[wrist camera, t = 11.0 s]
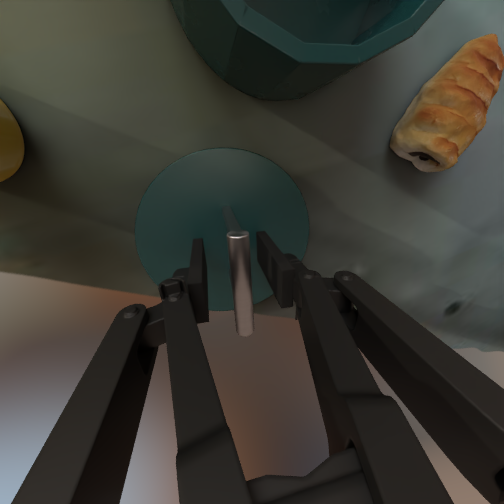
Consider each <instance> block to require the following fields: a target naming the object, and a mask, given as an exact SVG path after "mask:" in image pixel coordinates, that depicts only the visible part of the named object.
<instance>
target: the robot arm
mask: <svg viewBox="0 0 504 504" xmlns="http://www.w3.org/2000/svg"><path fill="white" fill-rule="evenodd" d="M256 241H257V261H258V263H259V265H260V267H261V269H262V271H263V273H264V275H265V277H266V279H267V281H268V283H269V285H270V287H271V289H272V291H273V293H274V295H275V297H276V299H277V301H278V303H279V305H280V307H281V308H287V307H293V299H294V301H295V302H296V318H295V320H297V317H298V320H299V324H300V328H301V332H302V336H303V340H304V344H305V348H306V352H307V356H308V360H309V364H310V368H311V372H312V376H313V380H314V384H315V388H316V392H317V396H318V400H319V404H320V409H321V412H322V417H323V421H324V425H325V429H326V432H327V437H328V443H329V456H330V457H329V458H327V459H326V460H325V461H324V462H322V463H321V464H320V465H319V466H318V467H316V468H315V469H314V470H313V471H312V472H310V473H309V474H308V475H306V476H304V477H297V476H279V475H265V476H262V477H259V478H255V479H252V480H249V481H246V480H245V477H244V474H243V470H242V467H241V464H240V461H239V457H238V454H237V451H236V448H235V444H234V441H233V438H232V435H231V432H230V429H229V427H228V425H227V423H226V419H225V416H224V413H223V409H222V407H221V403H220V400H219V397H218V393H217V390H216V386H215V383H214V379H213V376H212V373H211V370H210V366H209V363H208V360H207V356H206V353H205V350H204V346H203V343H202V340H201V336H200V333H199V330H198V327H197V324H198V323H204V322H209V309H208V277H207V263H206V256H205V250H204V244H203V238H197V239H193V242H192V250H191V258H190V266H189V267H188V268H180V269H177V270H176V271H175V272H174V273H173V276H172V278H169V279H166V280H164V281H162V282H161V283H160V284H159V286H158V289H159V292H160V296H161V299H162V302H161V303H160V304H158V305H156V306H153V307H150V308H147V309H146V307H145V305H143V304H133V305H130V306H127V307H125V308H124V309H122V310H121V311H120V312H119V313H118V314H117V315H116V317H115V319H114V321H113V323H112V324H111V326H110V328H109V330H108V331H107V333H106V335H105V337H104V339H103V340H102V342H101V344H100V346H99V348H98V349H97V351H96V353H95V355H94V356H93V358H92V360H91V362H90V364H89V365H88V367H87V369H86V371H85V373H84V374H83V376H82V378H81V380H80V381H79V383H78V385H77V387H76V389H75V391H74V392H73V394H72V396H71V398H70V399H69V401H68V403H67V405H66V406H65V408H64V410H63V412H62V414H61V415H60V417H59V419H58V421H57V423H56V424H55V426H54V428H53V430H52V431H51V433H50V435H49V437H48V439H47V440H46V442H45V444H44V446H43V448H42V450H41V451H40V453H39V455H38V457H37V458H36V460H35V462H34V464H33V465H32V467H31V469H30V471H29V473H28V474H27V476H26V478H25V480H24V481H23V484H22V485H21V487H20V489H19V491H18V492H17V494H16V496H15V498H14V499H13V501H12V503H11V504H119V503H120V499H121V495H122V491H123V487H124V483H125V479H126V475H127V471H128V467H129V463H130V459H131V455H132V451H133V447H134V443H135V439H136V435H137V431H138V427H139V423H140V419H141V415H142V411H143V407H144V403H145V399H146V395H147V391H148V387H149V383H150V379H151V375H152V371H153V368H154V364H155V359H156V356H157V351H158V346H159V345H161V344H164V343H166V344H167V353H168V362H169V372H170V381H171V390H172V400H173V409H174V418H175V426H176V437H177V447H178V453H177V456H176V469H177V481H178V491H179V502H180V504H454V503H453V501H452V499H451V497H450V496H449V494H448V492H447V490H446V489H445V487H444V485H443V483H442V482H441V480H440V478H439V476H438V474H437V473H436V471H435V469H434V467H433V465H432V464H431V462H430V460H429V458H428V456H427V455H426V453H425V451H424V450H423V448H422V446H421V444H420V442H419V440H418V439H417V437H416V435H415V433H414V432H413V430H412V428H411V426H410V425H409V423H408V421H407V419H406V417H405V416H404V414H403V412H402V410H401V408H400V407H399V405H398V404H397V402H396V401H395V400H394V399H393V398H392V397H390V396H386V395H384V394H382V392H381V391H380V389H379V388H378V386H377V384H376V382H375V380H374V378H373V376H372V374H371V372H370V370H369V368H368V366H367V364H366V363H365V360H364V358H363V357H362V355H361V353H360V351H361V352H362V353H363V354H364V355H365V357H366V358H367V359H368V360H369V361H370V363H371V364H372V365H373V366H374V368H375V369H376V370H377V371H378V373H379V374H380V375H381V376H382V377H383V379H384V380H385V381H386V382H387V384H388V385H389V386H390V387H391V389H392V390H393V391H394V392H395V393H396V395H397V396H398V397H399V398H400V400H401V401H402V402H403V403H404V405H405V406H406V407H407V408H408V409H409V411H410V412H411V413H412V414H413V416H414V417H415V418H416V419H417V420H418V422H419V423H420V424H421V425H422V427H423V428H424V429H425V430H426V432H427V433H428V434H429V435H430V436H431V438H432V439H433V440H434V441H435V442H436V444H437V445H438V446H439V447H440V449H441V450H442V451H443V452H444V454H445V455H446V456H447V457H448V458H449V459H450V461H451V462H452V463H453V464H454V465H455V466H456V468H457V469H458V470H459V471H460V472H461V473H462V474H463V476H464V477H465V478H466V479H467V480H468V481H469V482H470V483H471V484H472V485H473V486H474V487H475V488H476V489H477V490H478V491H479V492H480V494H482V495H483V497H484V498H485V499H486V500H487V501H488V502H489V503H491V504H504V389H503V388H501V387H500V386H499V385H498V384H496V383H495V382H494V381H493V380H491V379H490V378H489V377H487V376H486V375H485V374H484V373H482V372H481V371H480V370H478V369H477V368H476V367H474V366H473V365H472V364H470V363H469V362H468V361H467V360H465V359H464V358H463V357H462V356H460V355H459V354H458V353H456V352H455V351H454V350H453V349H451V348H450V347H449V346H447V345H446V344H445V343H444V342H442V341H441V340H440V339H438V338H437V337H436V336H435V335H433V334H432V333H431V332H429V331H428V330H427V329H426V328H424V327H423V326H422V325H420V324H419V323H418V322H416V321H415V320H414V319H413V318H411V317H410V316H409V315H407V314H406V313H405V312H404V311H402V310H401V309H400V308H398V307H397V306H396V305H395V304H393V303H392V302H391V301H389V300H388V299H387V298H386V297H384V296H383V295H382V294H380V293H379V292H378V291H377V290H375V289H374V288H373V287H371V286H370V285H369V284H367V283H366V282H365V281H364V280H362V279H361V278H360V277H358V276H357V275H356V274H354V273H351V272H349V271H339V272H336V273H335V275H334V278H322V277H321V275H320V274H319V273H317V272H316V271H312V270H308V269H307V268H306V267H305V266H304V265H303V263H301V261H300V260H299V259H298V258H297V257H296V256H295V255H293V254H291V253H287V254H283V253H282V252H281V250H280V249H279V248H278V247H277V245H276V244H275V243H274V242H273V240H272V239H271V238H270V237H269V235H268V234H267V233H266V232H265V231H258V232H256ZM354 305H355V306H356V307H357V310H356V309H355V308H354V307H353V306H354ZM358 348H359V349H360V351H359V349H358Z"/></svg>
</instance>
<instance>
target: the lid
mask: <svg viewBox="0 0 504 504" xmlns="http://www.w3.org/2000/svg"><path fill="white" fill-rule="evenodd" d="M258 231H265V232H266V233H267V234H268V235H269V237H270V238H271V239H272V240H273V242H274V243H275V244H276V245H277V247H278V248H279V249H280V250H281V252H282V253H283V254H287V253H291V254H293V255H295V256H296V257H297V258H298V259H299V260H300V261H302V259H303V256H304V254H305V251H306V247H307V243H308V236H309V219H308V212H307V208H306V204H305V201H304V199H303V197H302V194H301V192H300V190H299V189H298V187H297V185H296V184H295V182H294V181H293V180H292V179H291V177H290V176H289V175H288V174H287V173H286V172H285V171H284V170H283V169H282V168H281V167H279V166H278V165H276V164H275V163H274V162H272V161H271V160H269V159H267V158H265V157H263V156H261V155H259V154H256V153H253V152H250V151H247V150H242V149H236V148H213V149H205V150H202V151H198V152H194V153H192V154H189V155H187V156H185V157H182V158H180V159H179V160H177V161H175V162H174V163H172V164H171V165H169V166H168V167H167V168H166V169H164V170H163V171H162V172H161V173H160V174H159V175H158V176H157V177H156V178H155V179H154V181H153V182H152V183H151V184H150V186H149V187H148V189H147V190H146V192H145V194H144V195H143V198H142V200H141V203H140V205H139V207H138V212H137V216H136V222H135V241H136V247H137V251H138V255H139V257H140V260H141V262H142V265H143V266H144V268H145V270H146V272H147V273H148V275H149V276H150V277H151V279H152V280H153V281H154V283H155V284H156V285H157V286H159V284H160V283H161V282H162V281H164V280H166V279H169V278H172V276H173V273H174V272H175V271H176V270H177V269H180V268H188V267H189V266H190V258H191V250H192V242H193V239H197V238H203V244H204V250H205V256H206V263H207V277H208V309H209V310H212V311H229V310H234V312H235V321H236V331H237V333H238V334H239V335H240V336H244V337H246V336H249V335H251V334H252V333H253V331H254V318H253V305H254V304H256V303H259V302H261V301H263V300H265V299H266V298H268V297H270V296H271V295H273V294H274V293H273V291H272V289H271V287H270V285H269V283H268V281H267V279H266V277H265V275H264V273H263V271H262V269H261V267H260V265H259V263H258V261H257V241H256V232H258Z"/></svg>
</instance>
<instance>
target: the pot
mask: <svg viewBox="0 0 504 504" xmlns="http://www.w3.org/2000/svg"><path fill="white" fill-rule="evenodd" d="M170 1H171V3H172V6H173V8H174V11H175V13H176V16H177V18H178V20H179V22H180V24H181V26H182V28H183V30H184V32H185V33H186V36H187V38H188V39H189V41H190V42H191V43H192V45H193V46H194V48H195V49H196V51H197V52H198V53H199V55H200V56H201V57H202V58H203V60H204V61H205V62H206V63H207V65H208V66H209V67H210V68H211V69H212V70H213V71H214V72H215V73H216V74H217V75H218V76H220V77H221V78H222V79H223V80H224V81H226V82H227V83H228V84H230V85H231V86H233V87H235V88H236V89H238V90H240V91H241V92H243V93H246V94H248V95H250V96H253V97H256V98H260V99H264V100H274V101H282V100H291V99H300V98H302V97H303V96H305V95H307V94H309V93H311V92H313V91H315V90H317V89H319V88H320V87H322V86H324V85H326V84H328V83H330V82H332V81H334V80H335V79H337V78H339V77H341V76H342V75H344V74H346V73H348V72H350V71H351V70H353V69H355V68H357V67H359V66H360V65H362V64H364V63H366V62H367V61H369V60H371V59H373V58H375V57H376V56H378V55H380V54H382V53H383V52H385V51H387V50H389V49H391V48H392V47H394V46H396V45H398V44H399V43H401V42H403V41H405V40H407V39H408V38H410V37H412V36H413V35H414V34H415V33H416V32H417V31H418V30H419V29H420V27H421V26H422V25H423V24H424V23H425V22H426V21H427V19H428V18H429V17H430V16H431V15H432V14H433V13H434V11H435V10H436V9H437V8H438V7H439V6H440V5H441V3H442V2H443V1H444V0H170Z"/></svg>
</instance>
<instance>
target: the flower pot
mask: <svg viewBox="0 0 504 504" xmlns="http://www.w3.org/2000/svg"><path fill="white" fill-rule="evenodd" d="M23 157H24V140H23V136H22V133H21V130H20V127H19V125H18V123H17V121H16V119H15V118H14V116H13V114H12V113H11V111H10V110H9V109H8V107H7V106H6V105H5V104H4V102H3V101H2V100H1V99H0V182H2V181H4V180H5V179H7V178H9V177H11V176H12V175H13V174H14V173H15V172H16V171H17V170H18V169H19V167H20V166H21V164H22V161H23Z"/></svg>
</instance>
